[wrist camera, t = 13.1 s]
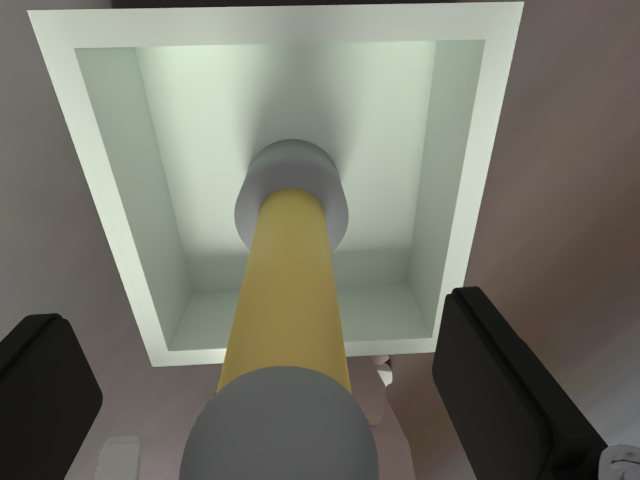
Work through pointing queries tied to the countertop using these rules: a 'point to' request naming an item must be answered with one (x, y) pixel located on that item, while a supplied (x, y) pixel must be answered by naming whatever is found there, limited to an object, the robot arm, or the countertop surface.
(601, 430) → the countertop surface
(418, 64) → the bin
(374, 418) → the toy
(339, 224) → the strut
